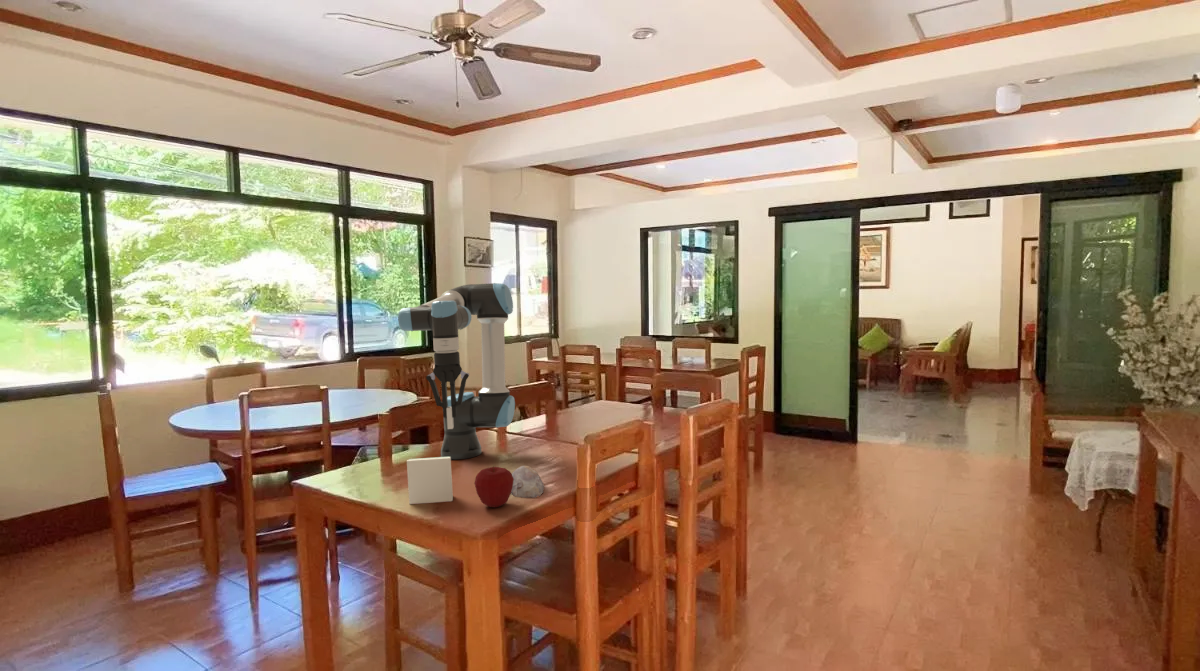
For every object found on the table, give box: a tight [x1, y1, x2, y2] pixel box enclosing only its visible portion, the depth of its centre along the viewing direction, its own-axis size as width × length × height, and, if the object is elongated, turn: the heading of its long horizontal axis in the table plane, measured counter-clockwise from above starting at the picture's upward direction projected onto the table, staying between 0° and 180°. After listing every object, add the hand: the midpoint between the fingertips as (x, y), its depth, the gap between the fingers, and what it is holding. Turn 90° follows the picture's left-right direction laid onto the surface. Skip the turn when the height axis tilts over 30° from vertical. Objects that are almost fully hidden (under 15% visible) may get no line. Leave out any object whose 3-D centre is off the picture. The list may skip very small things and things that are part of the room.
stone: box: [511, 465, 545, 499], centre depth 196 cm, size 17×10×10 cm
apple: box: [473, 466, 514, 508], centre depth 182 cm, size 11×11×12 cm
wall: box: [406, 457, 454, 505], centre depth 187 cm, size 1×12×13 cm, turn 96°
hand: (450, 428), depth 194 cm, fingers closed
